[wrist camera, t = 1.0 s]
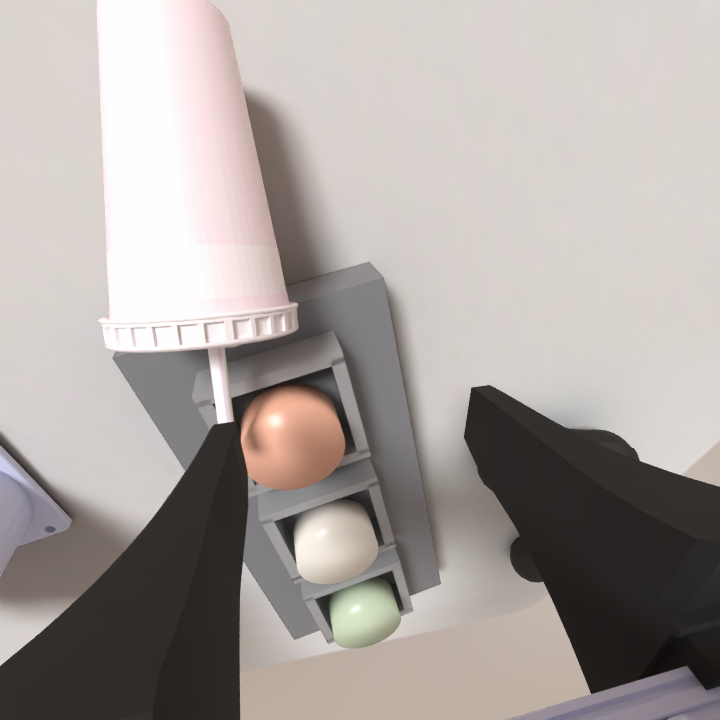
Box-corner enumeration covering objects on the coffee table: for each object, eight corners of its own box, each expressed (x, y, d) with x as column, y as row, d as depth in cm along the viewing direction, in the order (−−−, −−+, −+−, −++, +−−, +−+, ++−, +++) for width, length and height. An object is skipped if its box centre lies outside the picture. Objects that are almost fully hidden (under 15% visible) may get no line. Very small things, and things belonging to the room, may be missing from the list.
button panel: (291, 607, 33) (297, 669, 29) (127, 332, 19) (97, 383, 15) (428, 555, 34) (451, 609, 30) (369, 261, 20) (397, 292, 16)
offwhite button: (305, 561, 24) (310, 593, 22) (282, 515, 22) (285, 548, 20) (375, 536, 24) (384, 566, 23) (360, 488, 22) (370, 518, 20)
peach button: (260, 470, 20) (261, 502, 18) (225, 401, 17) (223, 430, 16) (345, 441, 20) (354, 470, 18) (323, 370, 18) (331, 396, 16)
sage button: (337, 624, 28) (342, 656, 26) (320, 592, 26) (326, 624, 24) (396, 602, 29) (405, 631, 27) (385, 568, 26) (395, 598, 25)
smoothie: (311, 3, 12) (344, 450, 14) (230, 91, 17) (266, 411, 19) (33, -115, 8) (149, 523, 11) (35, 44, 13) (114, 452, 16)
